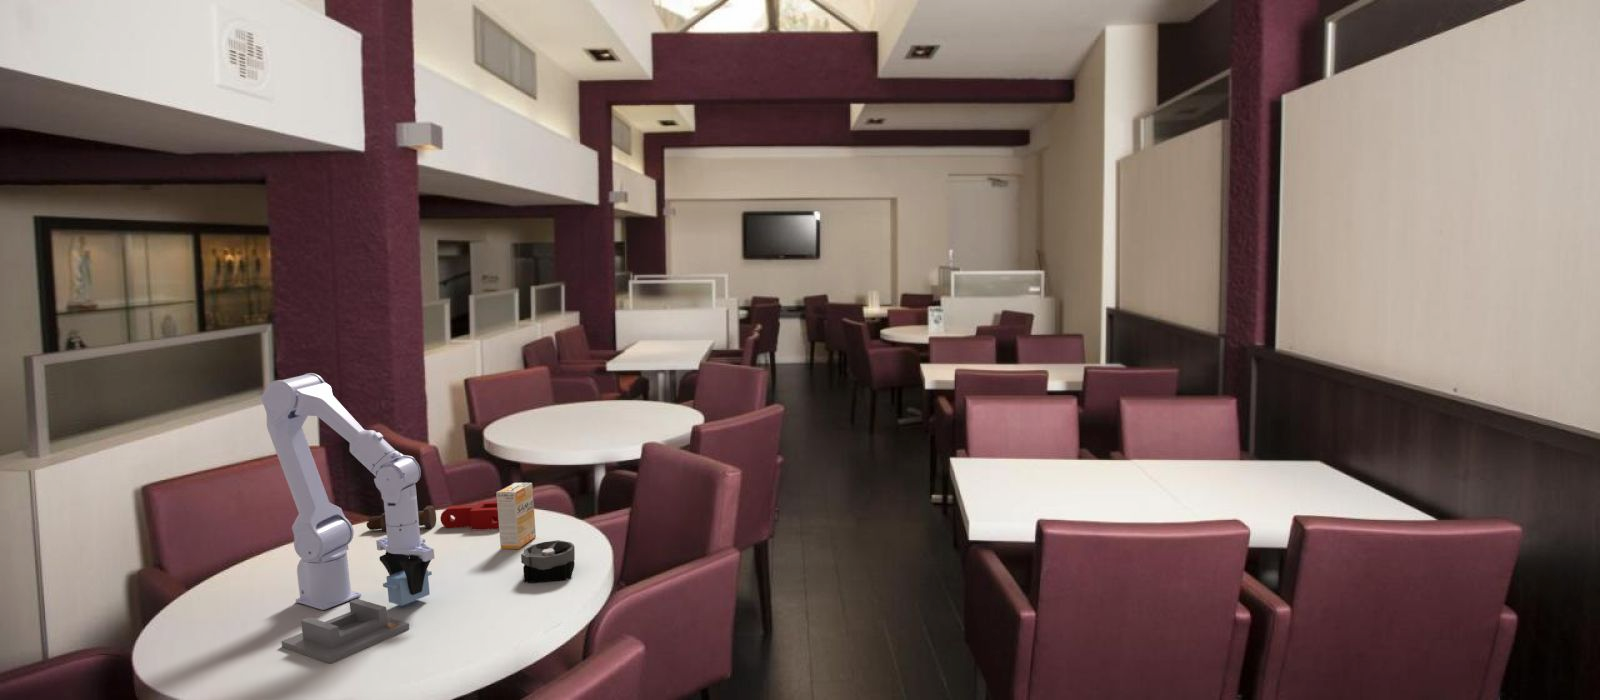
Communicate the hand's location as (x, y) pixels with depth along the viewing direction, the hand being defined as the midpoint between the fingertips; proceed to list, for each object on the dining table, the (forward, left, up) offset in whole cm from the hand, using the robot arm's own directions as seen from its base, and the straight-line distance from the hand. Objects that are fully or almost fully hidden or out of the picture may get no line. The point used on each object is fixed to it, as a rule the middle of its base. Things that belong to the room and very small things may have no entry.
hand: (408, 590), depth 178 cm
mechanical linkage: (-28, +39, -3) cm, 48 cm away
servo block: (0, 0, -2) cm, 2 cm away
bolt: (-43, +29, -3) cm, 52 cm away
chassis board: (+3, -15, -3) cm, 16 cm away
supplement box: (-8, +34, -3) cm, 35 cm away
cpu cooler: (+13, +23, -3) cm, 27 cm away
